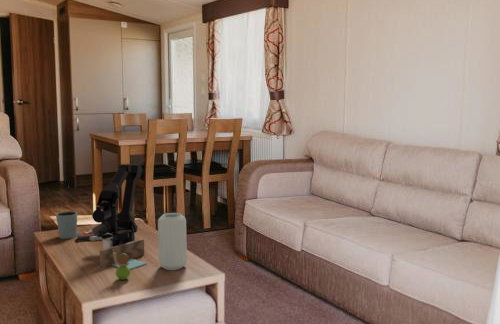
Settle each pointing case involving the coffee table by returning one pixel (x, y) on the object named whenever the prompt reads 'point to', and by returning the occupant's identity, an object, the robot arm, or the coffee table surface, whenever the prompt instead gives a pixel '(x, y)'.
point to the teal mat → (132, 264)
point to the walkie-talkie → (87, 236)
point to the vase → (172, 241)
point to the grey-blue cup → (67, 224)
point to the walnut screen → (130, 249)
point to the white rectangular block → (107, 243)
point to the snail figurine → (122, 265)
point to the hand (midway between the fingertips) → (111, 250)
